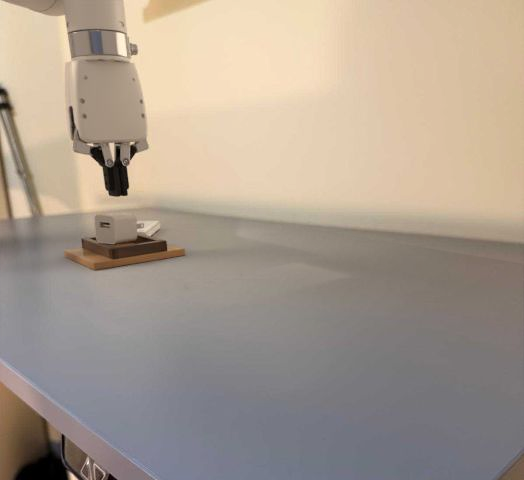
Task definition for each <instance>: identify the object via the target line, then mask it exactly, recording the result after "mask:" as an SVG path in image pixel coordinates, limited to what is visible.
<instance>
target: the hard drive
mask: <svg viewBox="0 0 524 480" xmlns="http://www.w3.org/2000/svg"><path fill="white" fill-rule="evenodd" d="M136 221H137V224H138V223H144V228H141V229H137V233H140V234H144V235H147V236H151V237H152V235H154V234H155V233H156V232H157V231H159V230H160V229H161V222H160V221H159V220H136ZM141 227H143V225H141Z"/></svg>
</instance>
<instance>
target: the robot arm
mask: <svg viewBox="0 0 524 480" xmlns="http://www.w3.org/2000/svg"><path fill="white" fill-rule="evenodd" d="M1 1H2V2H5V3H7V4H11V5H14V6H18V7H22V8H25V9H27V10H30V11H33V12H35V13H39V14H42V15H45V16H50V17H62V16H64V20H65V26H66V33H67V40H68V47H69V54H70V61H67V62H65V63H64V98H65V99H64V100H65V112H66V113H65V114H66V124H67V131H68V136H69V138H70V140H71V141H72V151H73V152H74V153H76V154H81V155H84V156H89V157H91V158H92V160H94V161H95V162H96V163H98V165H99V166H100V167H102V168H101V169H102V175H103V181H104V182H103V183H104V188H105V191H106V192H107V193H108V196H109V197H115V198H119V197H127V196H128V195H129V193H128V192H129V191H128V190H129V189H130V181H129V173H128V166H130V165H131V161H132V159H133V158H134V156H135V155H136V154H138V153H142V152H144V151H147V150H149V148H150V145H149V144H150V143H149V141H148V135H149V126H148V117H147V110H146V103H145V97H144V94H143V93H144V92H143V89H142V84H141V81H140V80H141V79H140V77H139V74H138V70H137V66H136V65H135V64H136V63H135V62H131V59H132V56H137V55H138V53H139V48H138V45H137V44H136V43H132V42H130V36H128V29H127V28H128V27H127V21H126V12H125V11H126V10H125V1H124V0H1ZM89 144H90V145H89ZM91 144H92V145H91ZM110 144H113V153H112V149H111V146H110Z"/></svg>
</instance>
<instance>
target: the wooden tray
mask: <svg viewBox="0 0 524 480" xmlns="http://www.w3.org/2000/svg"><path fill="white" fill-rule="evenodd" d="M80 242H81V247H79V248H72V249H71V248H70V249H65V250H63V253H64V258H67V259H69V260H71V261H74V262H76V263H77V264H80V265H83V266H85V267H87V268H89V269H91V270H94V271H100V270H105V269H111V268H115V267H116V268H117V267H122V266H128V265H134V264H140V263H147V262H152V261H159V260H164V259H171V258H177V257H181V256H182V257H183V256H185V255H186V249H185V248H184V247H181V246H176V245H173V244H170V243H168V242H167V240H165V239H162V238H159V237H158V238H157V237H154V236H152V235H151V236H147V235H144V234H140V233H137V239H136V240H135V241H130V242H124V243H117V244H107V243H100V242H98V241H97V240H96V235H95V236H88V237H81V238H80Z"/></svg>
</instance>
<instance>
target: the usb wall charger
mask: <svg viewBox="0 0 524 480" xmlns="http://www.w3.org/2000/svg"><path fill="white" fill-rule="evenodd" d="M93 221H94V233H95V236H96V240H97V241H98V242H100V243H107V244H117V243H124V242H130V241H135V240H136V239H137V229H141V228H144V223H138V224H137V221H138V220H137V216H136V214H135V213H133V212H125V211H124V212H123V211H116V212H107V213H106V212H105V213H96V214H95V215H94V217H93ZM141 225H143V227H141Z"/></svg>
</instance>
